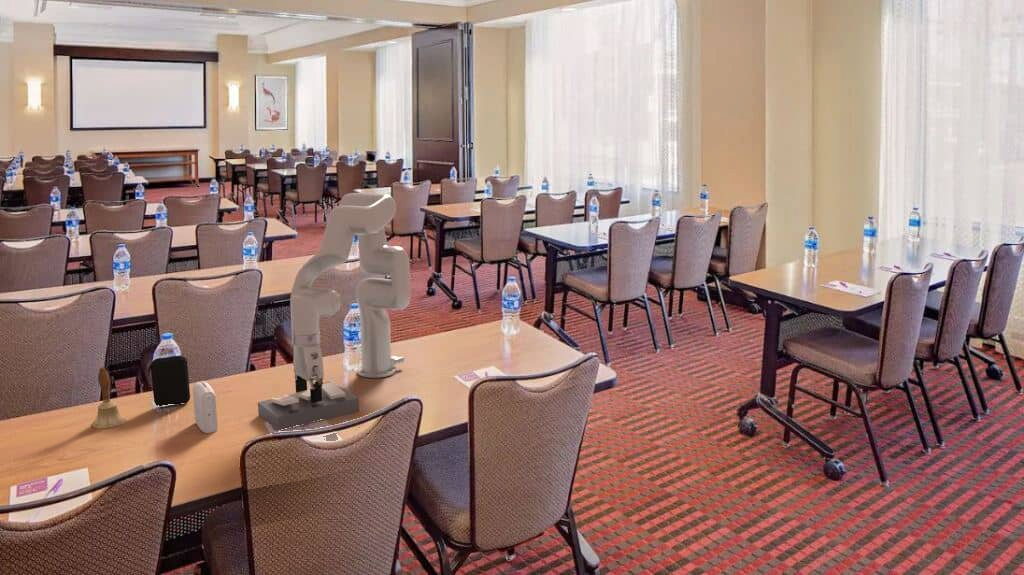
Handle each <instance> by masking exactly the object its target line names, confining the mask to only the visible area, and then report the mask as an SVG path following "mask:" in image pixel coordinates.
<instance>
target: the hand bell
mask: <svg viewBox="0 0 1024 575" xmlns="http://www.w3.org/2000/svg"><path fill="white" fill-rule="evenodd" d="M97 380H98V385H99V387H100V389H101V394H102V395H101V396H102V402H101V403H100V404H98V407H97V415H96V417H95V419H94V420H93V421H92V422H91V426H93V427H92V428H94V427H95V428H94V429H97V428H98V430H108V429H113V428H116V427H119V426H122V425H123V424H125V423H126V421H127V419H126V418H125V416H123V415H122V414H121V413H120V411H119V409H118V404H117V403H116V402H114V401H111V397H110V392H109V386H110V376H109V374H108V371H107V370H106V367H104V366H103V367H99V370H98V375H97ZM105 428H107V429H105Z"/></svg>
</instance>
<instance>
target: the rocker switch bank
mask: <svg viewBox="0 0 1024 575" xmlns="http://www.w3.org/2000/svg"><path fill="white" fill-rule="evenodd" d="M336 385H337V386H339V387H340V388H341V389H342V390H343V391H344V392H345V396H344V397H339V398H335V399H330V398H329V397H328V396H327V395H326V394H325V393H324V392H323V391H322V395H323V397H322V401H320V402H315V403H311V400H305V399H303V398H300V397H297V396H295V394H294V393H293V394H287V395H288V396H292V397H295V398H299V402H297V403H292V404H288V405H284V406H283V405H280V404H277V403H274V402H271V398H270V399H266V400H262V401H258V402H257V409H258V410H257V411H258V417H260V418H261V419H262V420H263V419H264V422H265V423H267V422H268V423H267V424H269V425H270V424H271V425H272V426H273V427H272V426H271V425H270V426H271V427H272V428H274V429H275V428H276V429H278V430H277V431H278V432H280V431H279V430H281V429H285V428H289V427H293V426H296V425H302V424H305V425H308V424H307V423H309V424H311V423H310V422H313V421H317V420H320V419H325V420H329V419H332V418H337V417H341V416H344V415H348V414H352V413H356V412H360V400H359V397H358V396H357V395H355V394H353V393H351V392H350V391H348V390H346V389H345V388H343V387H341V386H340V385H338V384H336ZM317 422H318V421H317ZM313 423H314V422H313ZM302 426H303V425H302ZM276 429H275V430H276Z"/></svg>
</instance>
